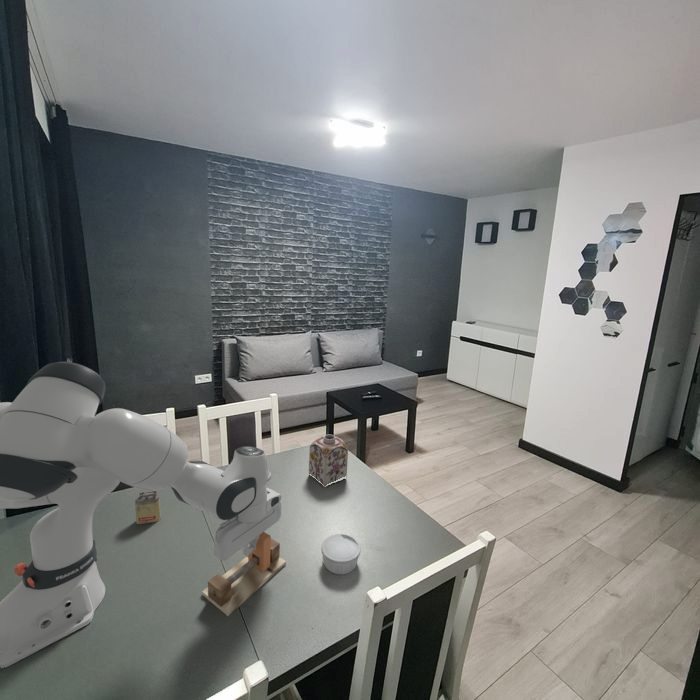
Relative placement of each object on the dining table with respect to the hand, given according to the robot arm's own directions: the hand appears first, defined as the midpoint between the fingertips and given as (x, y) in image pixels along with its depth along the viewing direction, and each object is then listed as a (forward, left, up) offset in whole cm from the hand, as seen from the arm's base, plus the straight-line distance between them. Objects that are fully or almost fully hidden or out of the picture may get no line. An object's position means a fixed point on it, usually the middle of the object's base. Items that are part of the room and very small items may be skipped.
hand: (249, 552), depth 96 cm
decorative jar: (+53, +13, -8) cm, 55 cm away
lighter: (-4, +43, -8) cm, 44 cm away
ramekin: (+19, -17, -8) cm, 27 cm away
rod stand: (-1, 0, -8) cm, 8 cm away
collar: (+4, 0, -6) cm, 7 cm away
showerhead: (+29, +28, -8) cm, 41 cm away
